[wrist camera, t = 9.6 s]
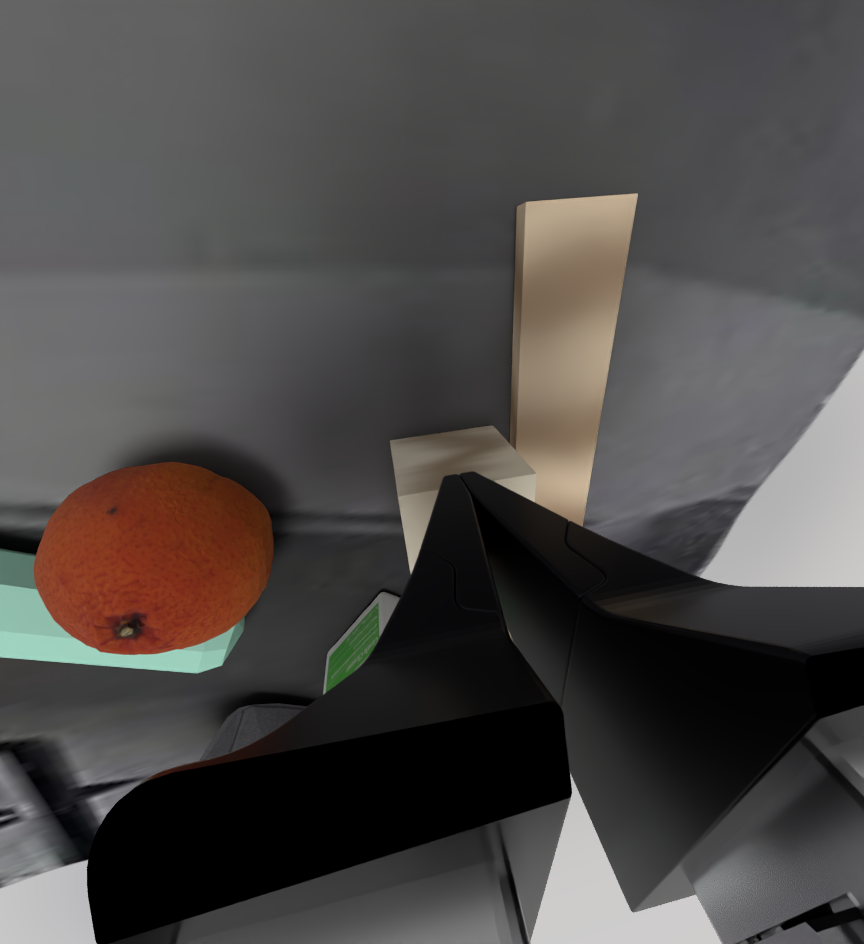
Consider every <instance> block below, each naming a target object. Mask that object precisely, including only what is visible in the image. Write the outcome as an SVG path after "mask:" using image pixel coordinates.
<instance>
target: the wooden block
mask: <svg viewBox="0 0 864 944" xmlns="http://www.w3.org/2000/svg"><path fill="white" fill-rule="evenodd" d="M390 445H391V452H392V459H393V466H394V473H395V480H396V487H397V494H398V501H399V507H400V513H401V519H402V525H403V531H404V537H405V543H406V549H407V555H408V561H409V567H410V573H412V571H413V568H414V565H415V563H416V560H417V557H418V554H419V551H420V549H421V545H422V542H423V539H424V535H425V532H426V529H427V526H428V523H429V520H430V516H431V513H432V510H433V507H434V504H435V501H436V498H437V494H438V491H439V488H440V485H441V482H442V479H443V477H444V476H446V475H452V474H458V475H459V474H460V473H464V472H470V471H474V472H477V473H479V474H481V475H483V476H484V477H486V478H488V479H490V480H492V481H494V482H496V483H498V484H500V485H502V486H504V487H506V488H508V489H510V490H512V491H514V492H516V493H518V494H520V495H522V496H523V497H525V498H527V499H529V500H531V501H533V502H535V489H536V475H537V473H536V472H535V471H534V470H533V469H532V468H531V467H530V466H529V465H528V464H527V462H526V461H525V460H524V459H523V458H522V457H521V456H520V455H519V454H518V453H517V451H516V450H515V449H514V448H513V447H512V446H511V445H510V444H509V443H508V441H507V440H506V439H505V438H504V437H503V436H502V435H501V434H500V433H499V432H498V430H497V429H496V428H495V427H494V426H493V425H491V426H484V427H477V428H471V429H464V430H457V431H450V432H444V433H437V434H430V435H423V436H417V437H410V438H403V439H396V440H390Z"/></svg>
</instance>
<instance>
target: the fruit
mask: <svg viewBox="0 0 864 944" xmlns="http://www.w3.org/2000/svg"><path fill="white" fill-rule="evenodd" d="M273 556H274V540H273V533H272V521H271V518H270V516H269V512H268V511H267V509H266V508H265V506H264V505H263V503H262V502H261V501H259V500H258V498H257V497H255V496H254V495H253V494H252V493H251V492H249V491H248V490H247V489H245V488H244V487H243V486H242V485H240V484H238V483H237V482H235V481H233V480H231V479H229V478H225V477H221V476H219V475H217V474H216V473H214V472H212V471H210V470H208V469H205V468H203V467H199V466H195V465H190V464H185V463H179V462H162V463H155V464H149V465H141V466H134V467H127V468H121V469H118V470H115V471H112V472H110V473H107V474H105V475H103V476H100V477H98V478H96V479H95V480H93V481H91V482H89V483H87V484H85V485H83V486H81V487H79V488H78V489H76V490H75V491H74V492H72V493H71V494H70V495H69V496H68V497H67V498H66V499H65V500H64V501H63V502H62V504H61V505H60V506H59V507H58V508H57V510H56V511H55V512H54V514H53V515H52V516H51V518H50V520H49V522H48V524H47V526H46V529H45V531H44V534H43V537H42V540H41V542H40V544H39V548H38V551H37V554H36V557H35V561H34V569H33V570H34V580H35V585H36V587H37V590H38V593H39V595H40V597H41V599H42V601H43V603H44V605H45V607H46V608H47V610H48V612H49V613H50V615H51V616H52V618H53V620H54V621H55V622H56V623H57V624H58V625H60V626H61V627H62V628H63V629H64V630H65V631H66V632H67V633H69V634H70V635H71V636H72V637H74V638H76V639H77V640H79V641H81V642H82V643H84V644H85V645H87V646H89V647H92V648H95V649H97V650H98V651H100V652H104V653H111V654H121V655H138V654H142V655H148V654H159V653H164V652H168V651H172V650H176V649H184V648H187V647H191V646H196V645H198V644H201V643H204V642H206V641H208V640H210V639H212V638H215V637H217V636H219V635H221V634H223V633H225V632H227V631H228V630H230V629H231V628H232V627H233V626H235V625H236V624H237V623H238V622H240V621H241V619H242V618H243V617H244V616H245V615H246V614H247V613H248V612H249V610H250V609H251V608H252V607H253V605H254V604H255V603H256V602H257V600H258V599H259V597H260V595H261V593H262V591H263V590H264V589H265V587H266V585H267V582H268V579H269V576H270V573H271V565H272V561H273Z"/></svg>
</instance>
